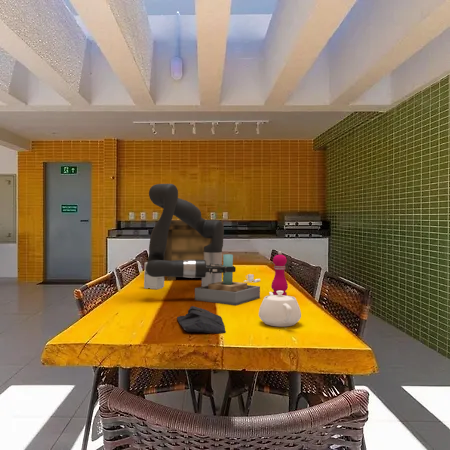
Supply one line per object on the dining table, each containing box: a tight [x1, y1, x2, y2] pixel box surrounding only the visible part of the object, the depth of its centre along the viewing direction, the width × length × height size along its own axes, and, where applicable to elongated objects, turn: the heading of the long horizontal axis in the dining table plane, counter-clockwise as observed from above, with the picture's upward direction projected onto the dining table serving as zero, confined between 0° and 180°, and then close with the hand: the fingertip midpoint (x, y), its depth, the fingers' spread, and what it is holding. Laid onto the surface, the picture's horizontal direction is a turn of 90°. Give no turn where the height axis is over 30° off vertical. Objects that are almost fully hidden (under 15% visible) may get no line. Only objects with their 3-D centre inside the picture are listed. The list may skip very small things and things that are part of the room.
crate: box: [164, 220, 224, 281], centre depth 257 cm, size 35×35×33 cm
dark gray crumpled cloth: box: [176, 305, 227, 335], centre depth 141 cm, size 15×22×5 cm
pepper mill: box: [270, 250, 289, 296], centre depth 195 cm, size 7×7×20 cm
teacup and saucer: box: [243, 273, 261, 283], centre depth 242 cm, size 9×8×4 cm
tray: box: [194, 284, 261, 306], centre depth 187 cm, size 20×20×5 cm
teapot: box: [258, 291, 302, 328], centre depth 145 cm, size 22×14×11 cm, turn 10°
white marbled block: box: [143, 261, 165, 290], centre depth 215 cm, size 7×7×13 cm
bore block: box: [208, 280, 248, 292], centre depth 187 cm, size 12×12×6 cm
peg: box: [222, 253, 234, 285], centre depth 187 cm, size 4×4×14 cm
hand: (234, 268), depth 188 cm, fingers closed on peg, 4 cm apart
